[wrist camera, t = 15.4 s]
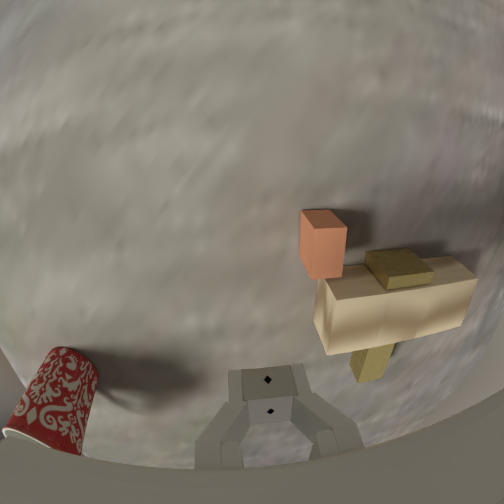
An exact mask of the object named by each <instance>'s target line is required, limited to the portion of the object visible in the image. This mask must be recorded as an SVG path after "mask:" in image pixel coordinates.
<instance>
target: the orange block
mask: <svg viewBox="0 0 504 504" xmlns="http://www.w3.org/2000/svg"><path fill="white" fill-rule="evenodd" d="M346 235H347V227H346V226H345V225H344V224H343V223H342V222H341V221H340V220H339V219H338V218H337V217H336V216H335V215H334V214H333V213H332V212H331V211H330V210H329V209H328V210H301V222H300V250H299V256H300V258H301V260H302V262H303V264H304V266H305V268H306V270H307V272H308V274H309V276H310V278H311V280H316V279H327V278H337V277H342V270H343V262H344V253H345V244H346Z"/></svg>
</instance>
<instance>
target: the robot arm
mask: <svg viewBox="0 0 504 504" xmlns="http://www.w3.org/2000/svg"><path fill="white" fill-rule="evenodd" d="M241 374H242V375H241ZM228 389H229V402H225V404H224V405H223V406H222V408H221V409H220V410H219V412H218V413H217V414H216V416H215V417H214V418H213V420H212V421H211V422H210V423H209V425H208V426H207V427H206V429H205V430H204V431H203V432H202V434H201V435H200V436H199V438H198V439H197V440H196V441H195V467H194V469H172V468H157V467H146V466H137V465H129V464H122V463H115V462H109V461H103V460H98V459H93V458H88V457H83V456H79V455H74V454H70V453H66V452H63V451H59V450H55V449H52V448H48V447H45V446H42V445H38V444H35V443H32V442H29V441H26V440H24V439H21V438H18V437H15V436H9V437H7V438H5V439H3V440H2V441H0V504H504V388H503V389H502V390H500V391H498V392H497V393H495V394H493V395H492V396H490V397H488V398H487V399H484V400H483V401H481V402H479V403H477V404H475V405H473V406H471V407H469V408H467V409H465V410H463V411H461V412H459V413H457V414H455V415H453V416H451V417H448V418H446V419H444V420H442V421H439V422H437V423H435V424H432V425H430V426H428V427H425V428H423V429H420V430H418V431H415V432H412V433H409V434H407V435H404V436H401V437H398V438H395V439H392V440H389V441H386V442H383V443H380V444H376V445H373V446H369V447H366V448H365V447H364V444H363V441H362V438H361V436H360V433H359V430H358V428H357V425H356V423H355V422H354V421H352V420H351V419H350V418H348V417H347V416H345V415H344V414H343V413H341V412H340V411H339V410H337V409H336V408H335V407H333V406H332V405H331V404H329V403H328V402H327V401H325V400H324V399H323V398H321V397H320V396H319V395H317V394H316V393H312V392H311V389H310V385H309V382H308V379H307V375H306V372H305V369H304V365H303V364H302V363H301V364H293V365H284V366H276V367H267V368H258V369H241V370H228ZM284 421H291V422H292V423H293V424H294V425H295V426H296V427H297V428H298V429H299V430H300V431H301V432H302V433H303V434H304V435H305V436H306V437H307V438H308V439H309V440H310V441H311V442H312V443H313V446H312V449H311V453H310V456H309V459H308V461H302V462H296V463H289V464H281V465H273V466H264V467H253V468H244V465H243V459H242V453H241V446H240V443H241V441H242V439H243V437H244V436H245V434H246V432H247V431H248V429H249V427H250V425H256V424H264V423H273V422H284Z"/></svg>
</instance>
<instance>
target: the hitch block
mask: <svg viewBox="0 0 504 504" xmlns="http://www.w3.org/2000/svg"><path fill="white" fill-rule="evenodd" d="M421 260H422V261H423V262H424V263H425V264H427V265H428V266H429V267H430V268H431V269H432V270H433V271H434V274H433V278H432V281H431V283H430V284H424V285H418V286H411V287H405V288H398V289H391V290H386V289H385V287H384V286H383V285H382V284H381V282H380V281H379V280H378V279H377V278H376V276H375V275H374V274H373V273H372V271H371V270H370V269H369V268H368V267H367V265H366V264H361V265H350V266H343V270H342V277H337V278H327V279H318V282H317V292H316V302H315V311H314V320H313V321H314V323H315V326H316V328H317V331H318V333H319V336H320V338H321V341H322V344H323V346H324V349H325V351H326V354H327V355H333V354H340V353H346V352H351V351H357V350H362V349H368V348H373V347H378V346H383V345H387V344H392V343H397V342H401V341H405V340H410V339H414V338H418V337H422V336H426V335H430V334H433V333H437V332H441V331H444V330H448V329H451V328H455V327H458V326H461V323H462V321H463V319H464V316H465V314H466V311H467V309H468V306H469V304H470V301H471V298H472V296H473V293H474V290H475V287H476V284H477V281H478V277H477V276H476V275H474V274H473V273H472V272H471V271H470V270H468V269H467V268H466V267H465V266H464V265H462V264H461V263H460V262H459V261H458V260H456V259H455V258H454V257H453V256H443V257H433V258H424V259H421Z"/></svg>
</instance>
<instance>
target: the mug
mask: <svg viewBox="0 0 504 504" xmlns="http://www.w3.org/2000/svg"><path fill="white" fill-rule="evenodd" d="M98 379H99V377H98V373H97V370H96V369H95V367H94V366H93V364H92V363H91V362H90V361H89V360H88V359H86V358H85V357H84V356H83V355H81V354H79V353H78V352H76V351H74V350H71V349H68V348H64V347H57V348H54V349H52V350H51V351H50V352H49V354H48V355H47V357H46V358H45V360H44V362H43V363H42V365H41V367H40V368H39V370H38V372H37V373H36V375H35V376H34V378H33V379H32V381H31V383H30V385H29V386H28V388H27V390H26V391H25V393H24V395H23V397H22V398H21V400H20V402H19V403H18V405H17V407H16V409H15V411H14V413H13V414H12V416H11V418H10V420H9V422H8V424H7V425H6V426H5V427H3V429H2V430H3V434H4V436H5V437H6V438H7V437H9V436H15V437H18V438H21V439H24V440H26V441H29V442H32V443H35V444H38V445H42V446H45V447H48V448H52V449H55V450H59V451H63V452H66V453H70V454H74V455H79V456H81V451H82V445H83V439H84V435H85V430H86V426H87V421H88V417H89V413H90V409H91V406H92V402H93V398H94V394H95V391H96V388H97V384H98Z"/></svg>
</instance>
